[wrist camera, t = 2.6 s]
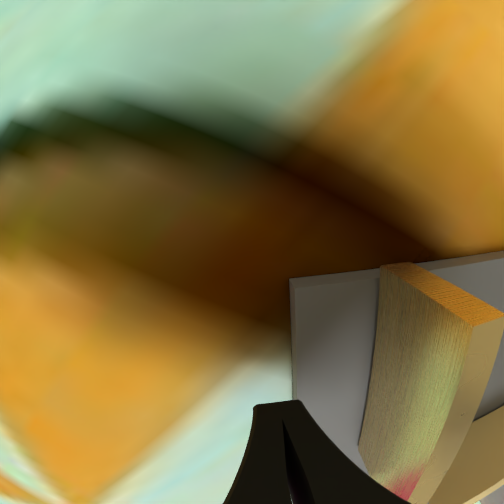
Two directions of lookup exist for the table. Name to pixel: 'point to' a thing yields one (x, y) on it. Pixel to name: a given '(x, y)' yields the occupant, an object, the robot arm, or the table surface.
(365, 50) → the table surface
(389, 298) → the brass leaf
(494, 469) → the hinge mount
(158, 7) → the table surface
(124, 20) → the table surface
